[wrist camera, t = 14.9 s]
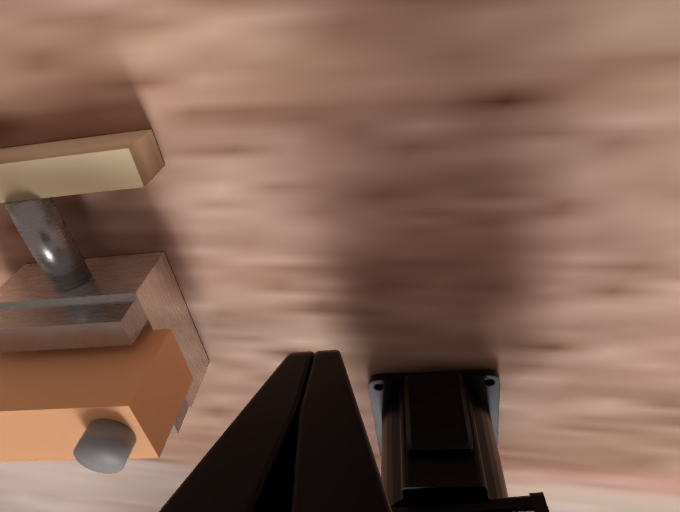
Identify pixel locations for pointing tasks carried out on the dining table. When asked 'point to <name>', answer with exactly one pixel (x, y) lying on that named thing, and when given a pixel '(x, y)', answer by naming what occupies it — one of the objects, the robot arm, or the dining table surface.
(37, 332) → the block
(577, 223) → the dining table surface
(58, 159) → the bay
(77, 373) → the crank handle
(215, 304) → the dining table surface
